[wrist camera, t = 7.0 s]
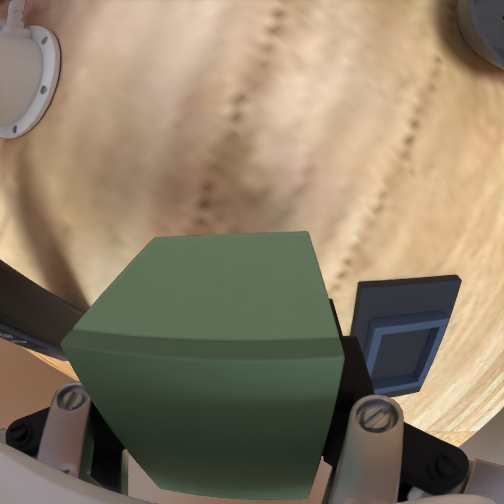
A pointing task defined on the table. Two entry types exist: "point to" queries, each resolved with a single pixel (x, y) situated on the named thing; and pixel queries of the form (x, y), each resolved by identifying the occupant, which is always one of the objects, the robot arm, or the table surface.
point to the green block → (216, 363)
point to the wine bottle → (34, 314)
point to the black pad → (402, 329)
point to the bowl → (483, 28)
